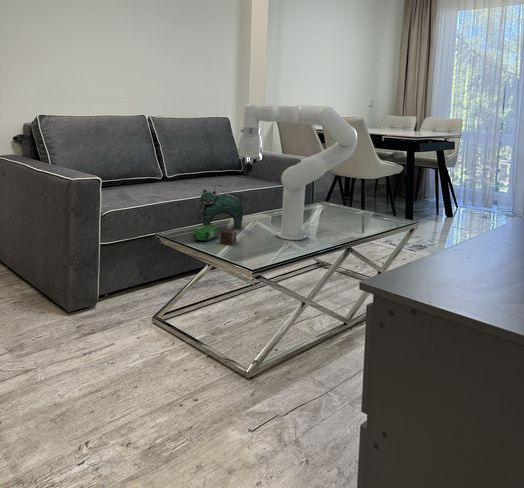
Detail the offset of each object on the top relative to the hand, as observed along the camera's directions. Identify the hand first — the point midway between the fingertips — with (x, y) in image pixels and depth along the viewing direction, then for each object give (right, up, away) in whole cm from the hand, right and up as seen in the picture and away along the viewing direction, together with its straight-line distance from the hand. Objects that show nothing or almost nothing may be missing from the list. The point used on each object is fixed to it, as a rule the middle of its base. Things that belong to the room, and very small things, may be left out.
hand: (249, 172), depth 223 cm
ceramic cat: (-14, -26, +9) cm, 31 cm away
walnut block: (-8, -28, -17) cm, 34 cm away
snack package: (-18, -27, -13) cm, 35 cm away
